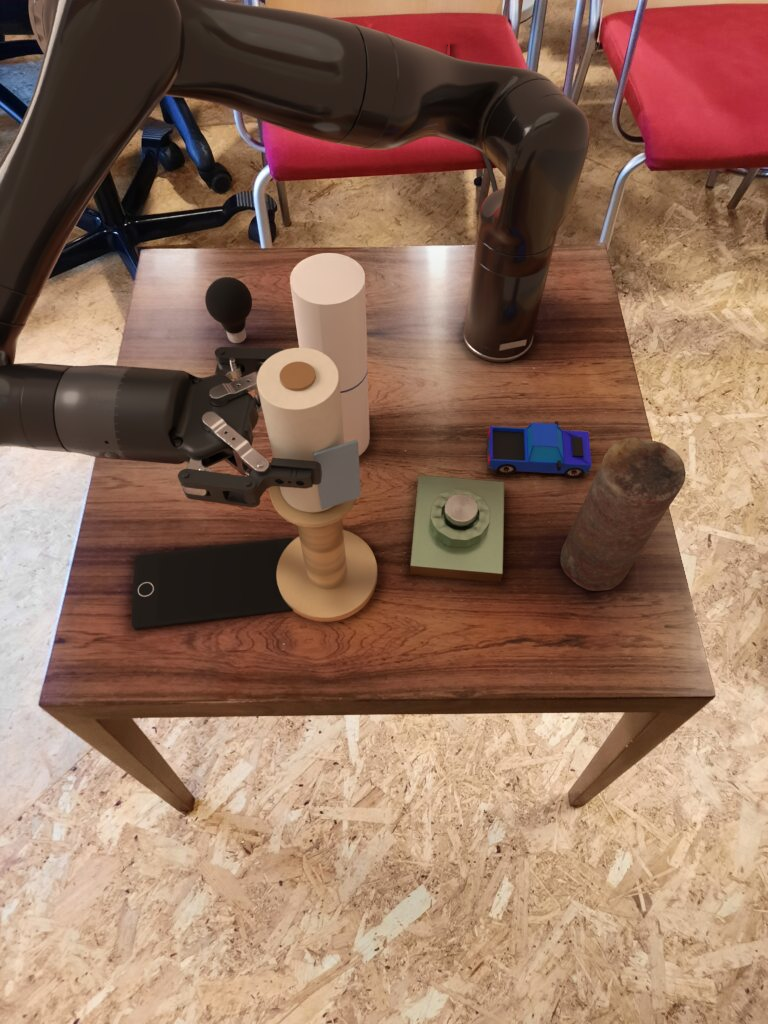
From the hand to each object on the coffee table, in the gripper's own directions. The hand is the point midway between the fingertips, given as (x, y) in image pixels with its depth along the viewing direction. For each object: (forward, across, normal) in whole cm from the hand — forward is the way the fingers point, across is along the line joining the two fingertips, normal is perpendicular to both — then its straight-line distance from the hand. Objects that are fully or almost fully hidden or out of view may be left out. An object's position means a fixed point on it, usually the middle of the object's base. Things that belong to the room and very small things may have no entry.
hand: (328, 429), depth 58 cm
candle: (+27, +4, +27) cm, 38 cm away
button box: (+12, +7, +26) cm, 30 cm away
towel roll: (-2, 0, +8) cm, 8 cm away
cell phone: (-14, -2, +27) cm, 31 cm away
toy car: (+21, +18, +27) cm, 38 cm away
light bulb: (-19, +34, +27) cm, 47 cm away
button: (+12, +7, +23) cm, 27 cm away
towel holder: (-2, 0, +26) cm, 26 cm away
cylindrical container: (-3, +19, +27) cm, 33 cm away
